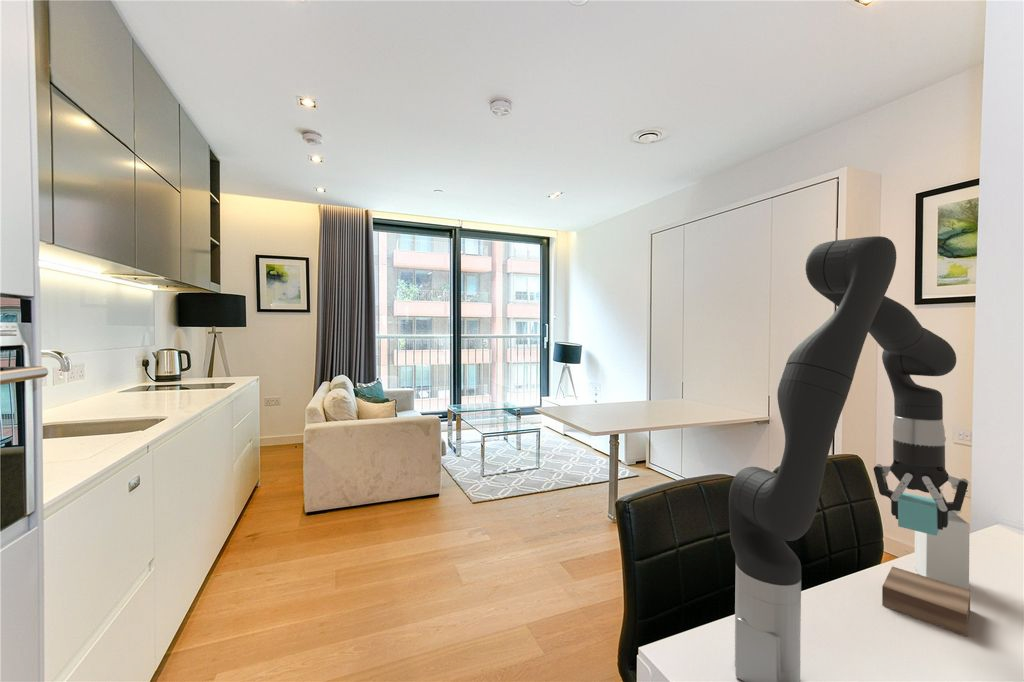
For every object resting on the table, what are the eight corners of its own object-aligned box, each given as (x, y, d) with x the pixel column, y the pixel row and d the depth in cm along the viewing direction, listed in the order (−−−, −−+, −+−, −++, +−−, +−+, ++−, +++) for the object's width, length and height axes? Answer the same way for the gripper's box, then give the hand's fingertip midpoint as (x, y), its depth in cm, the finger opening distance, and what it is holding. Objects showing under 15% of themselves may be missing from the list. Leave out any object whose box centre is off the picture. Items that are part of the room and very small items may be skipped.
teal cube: (936, 535, 81) (936, 507, 81) (898, 526, 85) (897, 499, 85) (939, 527, 84) (939, 499, 84) (902, 518, 89) (902, 492, 89)
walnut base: (966, 636, 79) (967, 614, 79) (882, 605, 88) (882, 586, 88) (969, 609, 86) (970, 590, 86) (892, 583, 96) (892, 566, 96)
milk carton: (926, 583, 96) (926, 500, 96) (914, 568, 102) (914, 490, 102) (969, 592, 93) (970, 506, 93) (954, 576, 99) (955, 495, 99)
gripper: (867, 436, 88) (868, 517, 88) (969, 449, 77) (970, 542, 77) (875, 431, 92) (876, 507, 93) (972, 442, 82) (973, 529, 82)
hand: (919, 522), depth 85 cm, fingers closed on teal cube, 5 cm apart
